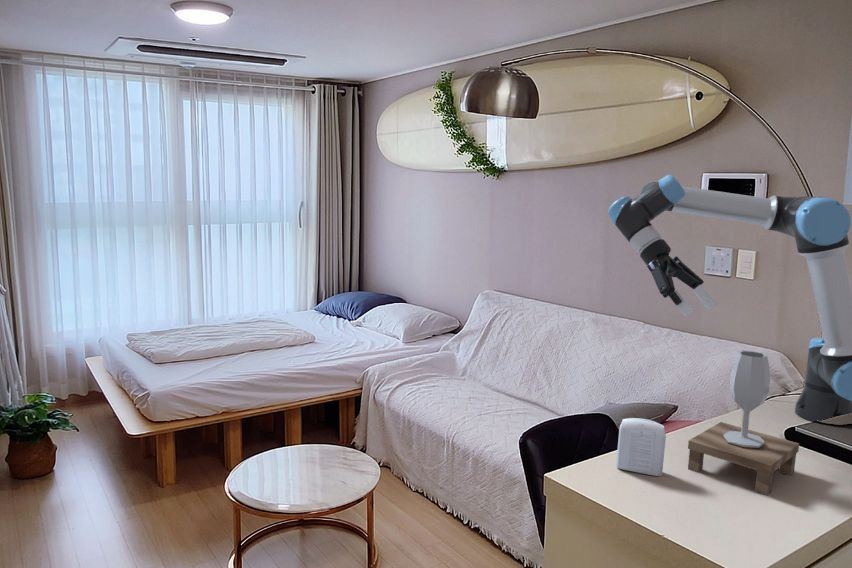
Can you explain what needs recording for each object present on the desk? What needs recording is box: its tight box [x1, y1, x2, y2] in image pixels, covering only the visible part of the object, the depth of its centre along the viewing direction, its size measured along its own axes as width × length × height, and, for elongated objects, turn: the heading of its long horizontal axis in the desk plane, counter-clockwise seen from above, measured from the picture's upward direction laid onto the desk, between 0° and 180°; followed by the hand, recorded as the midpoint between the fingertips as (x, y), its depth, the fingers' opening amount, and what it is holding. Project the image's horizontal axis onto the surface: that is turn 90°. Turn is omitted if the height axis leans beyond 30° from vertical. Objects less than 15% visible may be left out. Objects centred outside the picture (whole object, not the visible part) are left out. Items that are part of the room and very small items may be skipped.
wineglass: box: [723, 349, 771, 448], centre depth 153 cm, size 9×9×21 cm
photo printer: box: [615, 417, 667, 477], centre depth 154 cm, size 10×4×12 cm, turn 67°
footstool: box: [687, 421, 800, 496], centre depth 155 cm, size 18×18×7 cm
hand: (701, 310), depth 171 cm, fingers open, 13 cm apart
